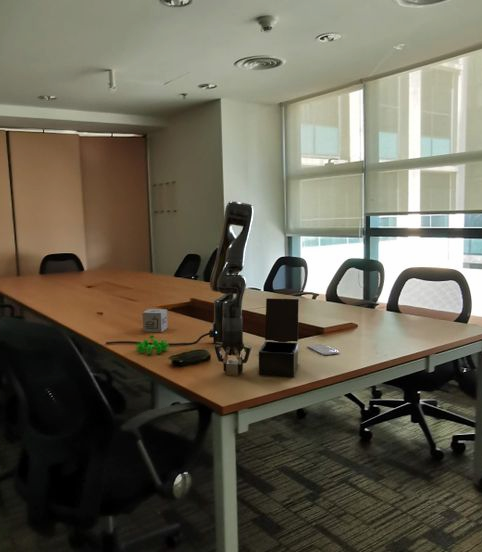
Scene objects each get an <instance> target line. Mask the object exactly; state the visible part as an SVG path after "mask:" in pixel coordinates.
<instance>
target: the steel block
mask: <svg viewBox="0 0 482 552" xmlns="http://www.w3.org/2000/svg"><path fill="white" fill-rule="evenodd" d="M238 364H239V363H238V360H229V359H228V361H227V363H226V373H225V374H226V376H234V377H235V376H236V377H238V376H239V375H240V374H238Z"/></svg>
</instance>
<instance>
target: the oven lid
mask: <svg viewBox="0 0 482 552" xmlns="http://www.w3.org/2000/svg"><path fill="white" fill-rule="evenodd" d="M299 301H300V299H299V298H270V297H269V298H267V297H266V299H265V327H264V328H265V329H264V330H265V333H264V341H273V342H294V343H299V311H300V309H299V307H300V302H299Z"/></svg>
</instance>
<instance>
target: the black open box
mask: <svg viewBox="0 0 482 552" xmlns="http://www.w3.org/2000/svg"><path fill="white" fill-rule="evenodd" d="M298 365H299V342H293V341H272V340H264V343H262V346H261V347H260V349H259V351H258V376H261V377H262V376H264V377H279V378H295V375H296V371H297V369H298Z"/></svg>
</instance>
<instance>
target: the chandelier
mask: <svg viewBox="0 0 482 552" xmlns="http://www.w3.org/2000/svg"><path fill="white" fill-rule="evenodd" d="M149 338H151V343H152V345H150V344H149V342H150V341H149V340H148V339H144V340H143V341H137V342H138V343H139V344H135V348H136V351H137V353H138V354H141V355H142V354H144V353H145V352H146V354H147V355H149V356H150V355H151V354H152V351H153V350H152V349H153V348H154V349H155V352H156V354H157V355H160V354H161V353H162V352H164V353H165V352H168V350H170V349H169V348H170V345H168V343H169V342H167V340H166V339H161V340H160V341H159V342H158V339H157V338H155V335H154V334H151V335H149ZM153 339H154V340H153ZM143 342H144V343H143ZM158 343H159V344H160V345H159V344H158ZM165 343H166V344H165Z"/></svg>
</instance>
